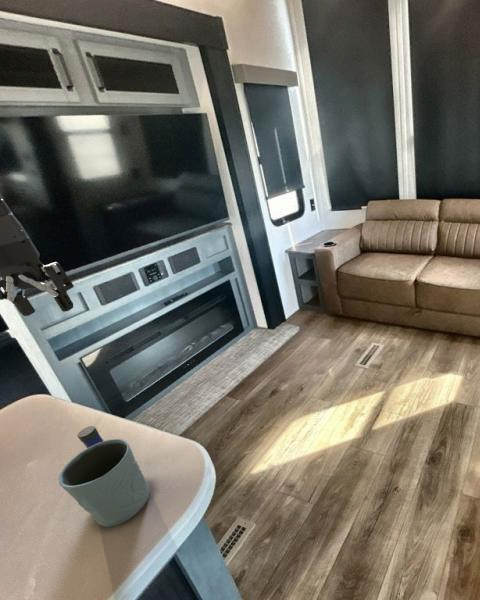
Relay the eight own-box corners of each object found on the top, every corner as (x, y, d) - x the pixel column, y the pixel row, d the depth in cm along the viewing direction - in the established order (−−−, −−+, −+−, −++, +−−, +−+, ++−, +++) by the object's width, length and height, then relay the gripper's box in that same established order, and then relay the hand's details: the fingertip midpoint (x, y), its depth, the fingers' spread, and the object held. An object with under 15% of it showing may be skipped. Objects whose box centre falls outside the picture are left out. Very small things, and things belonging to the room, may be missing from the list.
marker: (104, 478, 75) (73, 437, 69) (113, 466, 77) (84, 426, 72) (117, 477, 75) (87, 436, 69) (126, 465, 77) (98, 425, 71)
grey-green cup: (87, 510, 68) (51, 469, 63) (144, 470, 75) (116, 429, 70) (104, 542, 63) (67, 499, 57) (165, 495, 70) (136, 453, 64)
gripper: (-54, 251, 67) (1, 325, 75) (20, 242, 67) (68, 317, 75) (-15, 238, 74) (32, 307, 82) (53, 230, 74) (94, 300, 81)
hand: (49, 312), depth 78 cm, fingers open, 8 cm apart
